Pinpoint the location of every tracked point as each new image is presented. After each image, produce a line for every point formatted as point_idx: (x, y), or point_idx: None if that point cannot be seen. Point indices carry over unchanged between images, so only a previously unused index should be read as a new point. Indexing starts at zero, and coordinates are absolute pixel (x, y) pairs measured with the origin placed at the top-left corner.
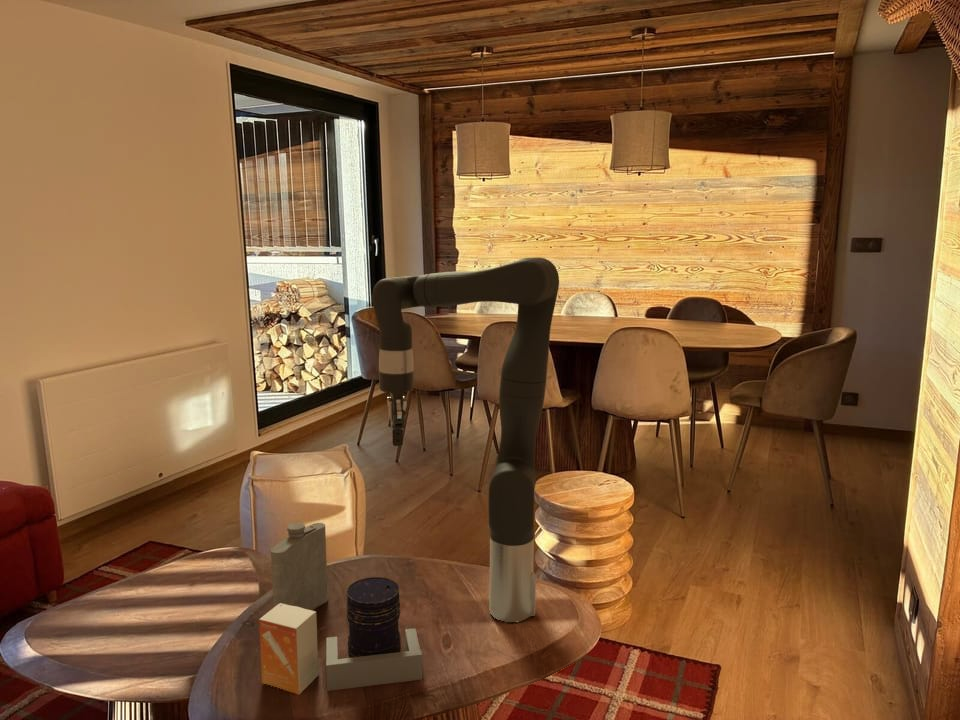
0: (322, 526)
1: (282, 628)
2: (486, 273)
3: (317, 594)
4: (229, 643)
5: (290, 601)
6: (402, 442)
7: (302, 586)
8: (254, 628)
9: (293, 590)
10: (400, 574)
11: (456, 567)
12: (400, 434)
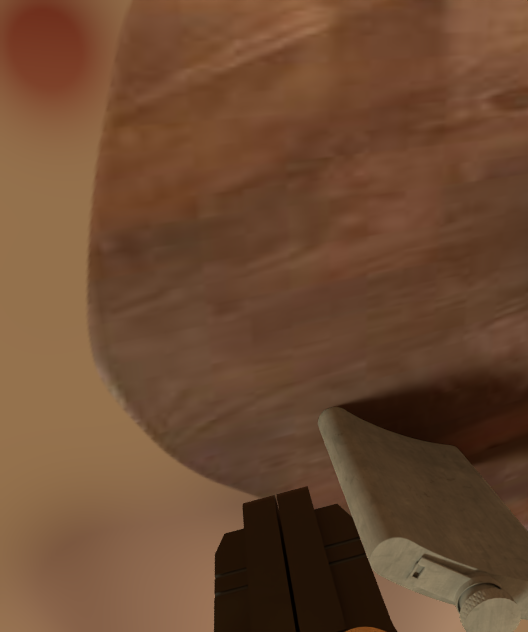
0: (402, 543)
1: None
2: None
3: (369, 434)
4: None
5: (471, 479)
6: (309, 500)
7: (429, 476)
8: None
9: (466, 489)
10: (195, 262)
11: (133, 97)
12: (380, 594)
